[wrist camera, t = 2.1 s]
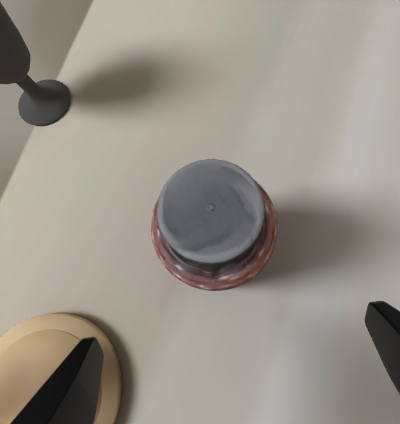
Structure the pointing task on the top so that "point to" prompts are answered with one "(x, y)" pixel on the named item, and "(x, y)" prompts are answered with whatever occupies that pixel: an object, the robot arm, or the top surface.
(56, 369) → the robot arm
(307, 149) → the top surface
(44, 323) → the plate
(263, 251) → the supplement bottle
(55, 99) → the sundae
